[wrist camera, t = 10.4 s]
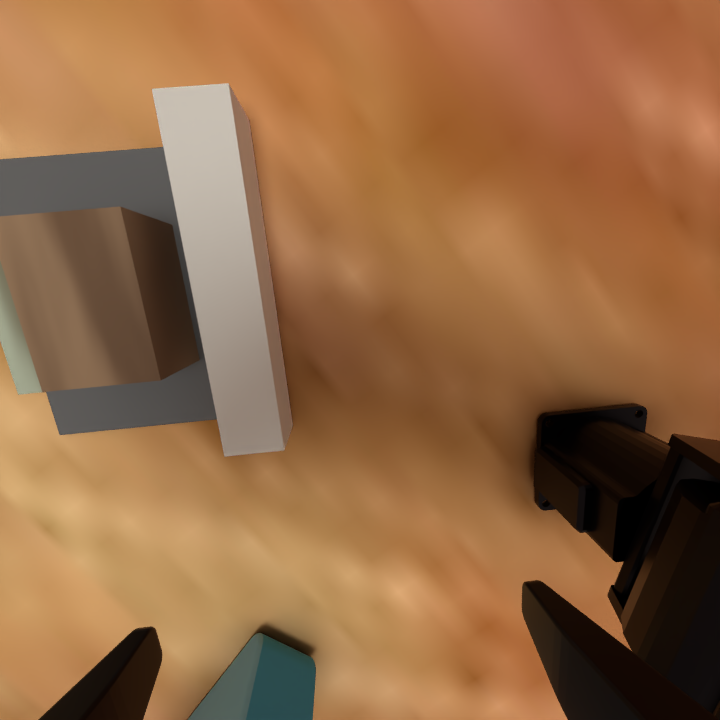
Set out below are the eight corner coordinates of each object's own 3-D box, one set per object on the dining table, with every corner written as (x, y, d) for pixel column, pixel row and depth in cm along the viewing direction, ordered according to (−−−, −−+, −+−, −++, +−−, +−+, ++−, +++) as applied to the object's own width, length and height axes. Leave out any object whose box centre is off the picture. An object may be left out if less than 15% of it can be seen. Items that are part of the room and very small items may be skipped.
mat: (190, 147, 16) (188, 145, 16) (239, 415, 19) (237, 417, 19) (-20, 163, 16) (-27, 161, 16) (63, 432, 19) (59, 435, 19)
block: (119, 206, 13) (-41, 219, 13) (160, 380, 14) (18, 394, 14) (172, 224, 17) (50, 235, 16) (199, 360, 18) (88, 370, 18)
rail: (249, 119, 16) (228, 83, 13) (292, 425, 20) (284, 450, 17) (186, 124, 16) (151, 88, 13) (242, 430, 20) (224, 456, 17)
